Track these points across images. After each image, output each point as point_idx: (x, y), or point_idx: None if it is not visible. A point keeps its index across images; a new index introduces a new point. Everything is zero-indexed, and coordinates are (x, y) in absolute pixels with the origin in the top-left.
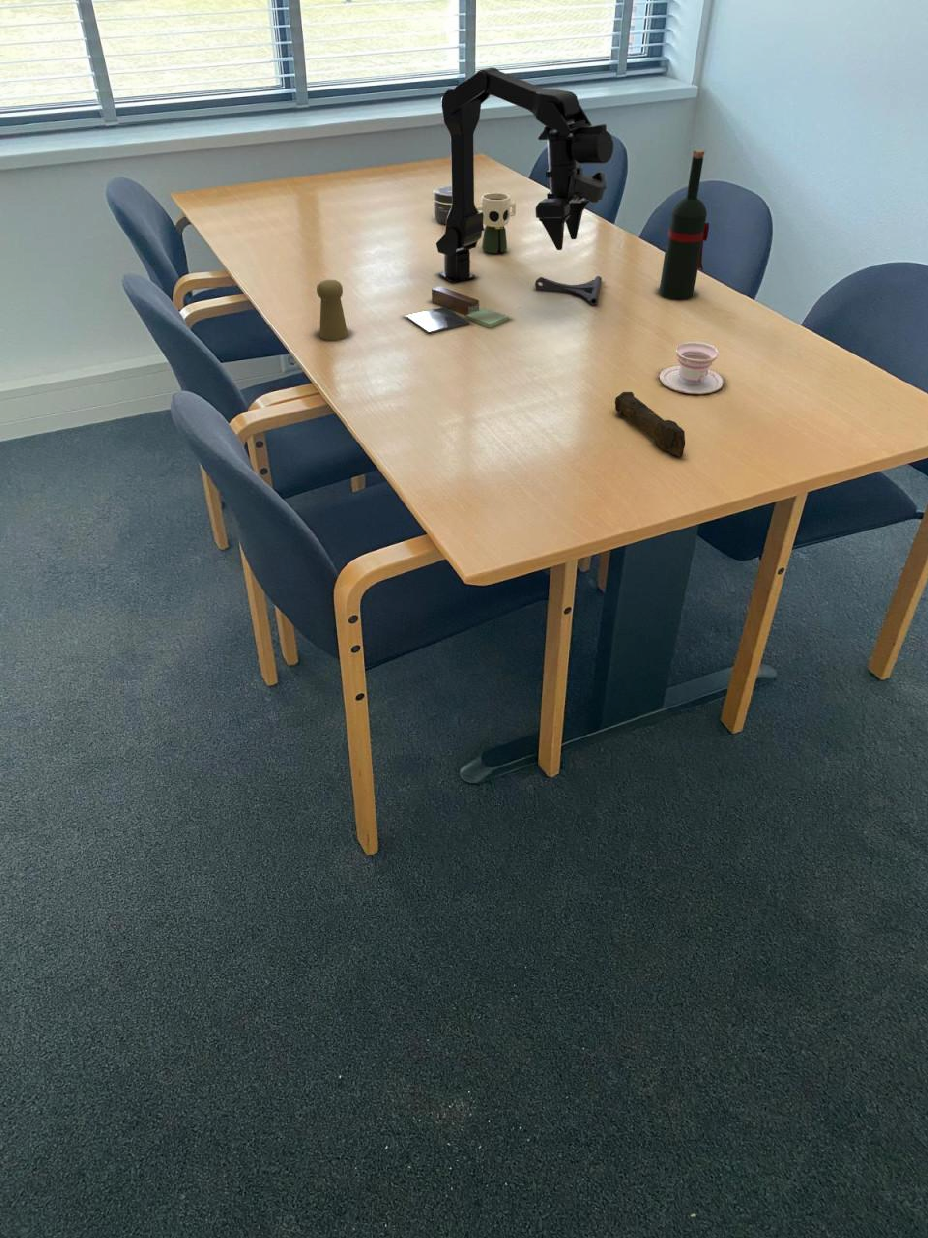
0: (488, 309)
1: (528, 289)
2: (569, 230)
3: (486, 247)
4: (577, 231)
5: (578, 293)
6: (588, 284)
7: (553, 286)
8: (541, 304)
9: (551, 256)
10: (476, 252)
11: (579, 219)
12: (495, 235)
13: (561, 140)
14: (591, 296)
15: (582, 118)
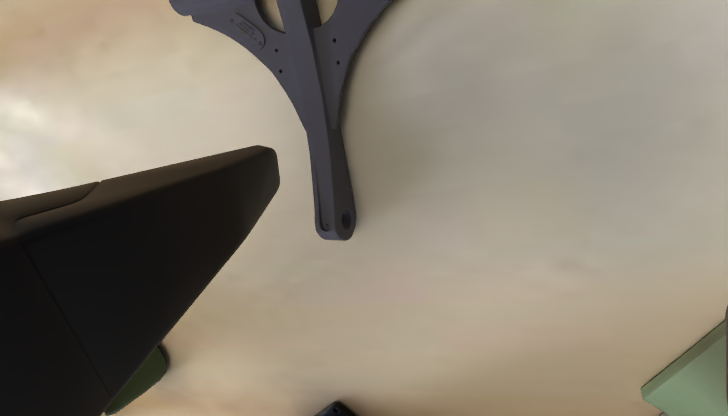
0: (662, 386)
1: (361, 248)
2: (237, 241)
3: (158, 378)
4: (220, 162)
5: (358, 45)
6: (251, 25)
7: (337, 166)
8: (501, 185)
9: None
10: (175, 386)
11: (97, 200)
12: None
13: None
14: None
15: None
